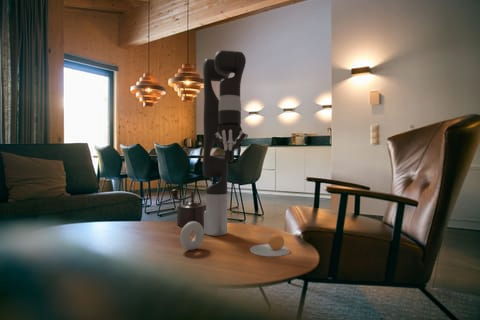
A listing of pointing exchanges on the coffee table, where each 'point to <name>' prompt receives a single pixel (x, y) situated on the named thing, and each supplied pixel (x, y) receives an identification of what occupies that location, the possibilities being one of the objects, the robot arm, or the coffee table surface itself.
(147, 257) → the coffee table surface
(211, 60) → the robot arm
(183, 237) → the donut
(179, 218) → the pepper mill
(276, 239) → the ball
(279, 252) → the disc
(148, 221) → the coffee table surface
